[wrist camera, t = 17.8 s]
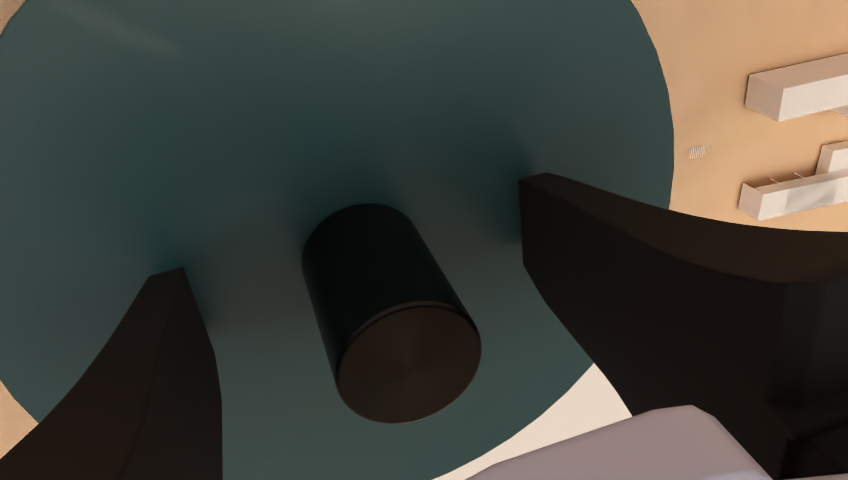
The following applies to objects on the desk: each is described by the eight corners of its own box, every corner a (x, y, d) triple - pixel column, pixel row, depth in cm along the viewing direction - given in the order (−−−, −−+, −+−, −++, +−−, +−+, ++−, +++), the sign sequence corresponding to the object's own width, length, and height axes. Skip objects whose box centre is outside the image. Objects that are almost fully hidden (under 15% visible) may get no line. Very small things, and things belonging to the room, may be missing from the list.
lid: (77, 536, 17) (49, 745, 13) (-189, -139, 10) (-429, -123, 6) (608, 407, 20) (709, 541, 16) (697, -158, 13) (912, -155, 9)
